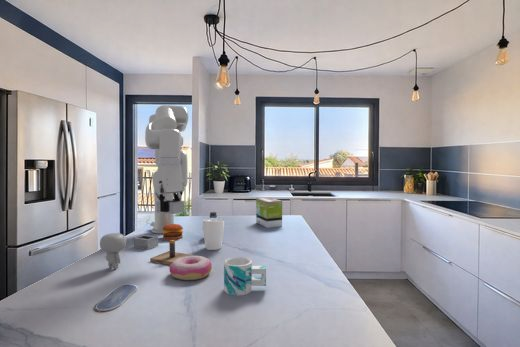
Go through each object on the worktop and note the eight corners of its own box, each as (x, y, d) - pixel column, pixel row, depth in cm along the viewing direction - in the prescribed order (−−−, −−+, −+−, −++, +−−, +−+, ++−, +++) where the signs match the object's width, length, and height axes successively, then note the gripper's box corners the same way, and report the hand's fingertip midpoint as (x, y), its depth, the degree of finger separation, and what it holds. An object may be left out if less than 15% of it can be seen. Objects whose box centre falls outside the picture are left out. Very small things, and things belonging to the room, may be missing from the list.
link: (156, 212, 119) (156, 201, 119) (167, 210, 124) (167, 200, 124) (173, 213, 116) (173, 202, 115) (184, 211, 121) (184, 201, 121)
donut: (169, 284, 96) (169, 268, 96) (169, 269, 109) (169, 255, 109) (214, 280, 100) (214, 264, 100) (209, 266, 113) (209, 252, 113)
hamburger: (163, 241, 146) (163, 227, 146) (162, 236, 155) (161, 223, 155) (184, 239, 149) (184, 225, 149) (181, 235, 158) (181, 221, 158)
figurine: (130, 267, 111) (130, 233, 111) (110, 273, 105) (110, 237, 104) (116, 263, 115) (115, 230, 115) (96, 269, 109) (95, 234, 108)
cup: (220, 251, 130) (220, 222, 129) (199, 250, 132) (199, 221, 131) (226, 245, 139) (226, 218, 138) (207, 244, 141) (207, 217, 140)
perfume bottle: (213, 239, 149) (213, 214, 148) (204, 237, 153) (203, 212, 152) (222, 237, 154) (222, 212, 153) (213, 235, 157) (213, 211, 157)
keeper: (150, 261, 117) (150, 242, 117) (168, 254, 126) (168, 236, 126) (176, 266, 112) (176, 246, 112) (193, 258, 121) (193, 239, 121)
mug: (226, 283, 97) (226, 256, 97) (265, 284, 97) (265, 256, 96) (222, 295, 89) (222, 265, 88) (266, 295, 89) (266, 266, 88)
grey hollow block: (133, 247, 136) (133, 237, 136) (144, 243, 141) (144, 234, 141) (147, 249, 132) (147, 240, 132) (158, 246, 138) (158, 236, 138)
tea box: (255, 222, 188) (255, 197, 187) (270, 221, 192) (270, 197, 192) (266, 228, 174) (266, 201, 174) (282, 226, 179) (283, 200, 178)
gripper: (177, 162, 129) (177, 207, 129) (145, 162, 113) (145, 213, 114) (192, 162, 125) (192, 208, 126) (161, 162, 110) (162, 214, 111)
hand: (170, 210), depth 120 cm, fingers closed on link, 6 cm apart
